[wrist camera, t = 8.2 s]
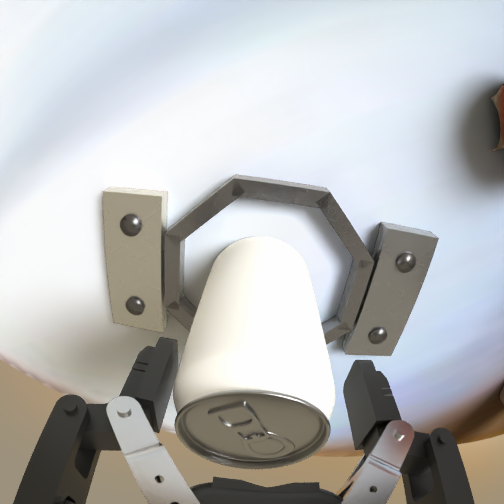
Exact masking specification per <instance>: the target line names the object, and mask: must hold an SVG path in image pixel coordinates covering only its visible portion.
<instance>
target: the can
mask: <svg viewBox="0 0 504 504" xmlns="http://www.w3.org/2000/svg"><path fill="white" fill-rule="evenodd" d="M173 398H174V404H175V408H176V411H177V416H176V419H175V431H176V434H177V436H178V438H179V439H180V441H181V442H182V443H183V444H184V445H185V446H186V447H187V448H188V449H190V450H191V451H192V452H194V453H195V454H197V455H199V456H201V457H203V458H205V459H207V460H210V461H212V462H215V463H218V464H221V465H225V466H230V467H235V468H243V469H271V468H278V467H283V466H288V465H291V464H294V463H297V462H300V461H302V460H305V459H307V458H309V457H311V456H312V455H314V454H315V453H317V452H318V451H319V450H320V449H321V448H322V447H323V446H324V445H325V444H326V442H327V441H328V439H329V436H330V423H329V419H330V416H331V414H332V411H333V408H334V404H335V387H334V381H333V375H332V370H331V365H330V361H329V356H328V351H327V347H326V342H325V338H324V333H323V329H322V325H321V320H320V316H319V312H318V308H317V304H316V300H315V296H314V292H313V288H312V284H311V280H310V276H309V273H308V270H307V267H306V264H305V262H304V260H303V259H302V257H301V256H300V255H299V253H298V252H297V251H296V250H295V249H293V248H292V247H291V246H290V245H288V244H286V243H284V242H282V241H280V240H278V239H274V238H270V237H263V236H256V237H248V238H244V239H241V240H238V241H236V242H234V243H232V244H231V245H229V246H228V247H226V248H225V249H224V250H223V251H222V252H221V253H220V254H219V256H218V257H217V259H216V260H215V262H214V264H213V267H212V269H211V272H210V274H209V277H208V280H207V283H206V286H205V288H204V291H203V294H202V297H201V300H200V303H199V306H198V309H197V312H196V315H195V318H194V321H193V324H192V327H191V330H190V333H189V336H188V339H187V342H186V345H185V348H184V352H183V355H182V358H181V361H180V365H179V368H178V371H177V375H176V379H175V383H174V389H173Z"/></svg>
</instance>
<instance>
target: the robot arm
mask: <svg viewBox="0 0 504 504" xmlns="http://www.w3.org/2000/svg"><path fill="white" fill-rule="evenodd" d="M177 371H178V344H177V340H175V339H169V338H164V337H160V338H159V340H158V343H157V345H156V347H151V346H147V347H146V348H144V349H143V350H142V351H141V352H140V353H139V355H138V357H137V359H136V362H135V363H134V365H133V367H132V370H131V372H130V374H129V376H128V378H127V380H126V383H125V385H124V387H123V389H122V391H121V393H120V395H119V397H116V398H114V399H112V400H111V401H110V402H109V403H107V404H86V402H85V401H84V400H83V399H82V398H81V397H79V396H77V395H65V396H63V397H61V398H60V399H59V400H58V401H57V402H56V404H55V406H54V408H53V411H52V412H51V415H50V417H49V419H48V421H47V423H46V425H45V427H44V429H43V431H42V434H41V436H40V438H39V440H38V443H37V445H36V447H35V449H34V452H33V454H32V456H31V459H30V461H29V463H28V466H27V468H26V471H25V473H24V476H23V478H22V481H21V484H20V486H19V489H18V492H17V495H16V497H15V500H14V503H13V504H85V503H86V499H87V495H88V492H89V488H90V485H91V481H92V478H93V475H94V471H95V468H96V465H97V461H98V458H99V455H100V452H101V450H122V452H123V454H124V456H125V458H126V461H127V463H128V465H129V467H130V469H131V471H132V473H133V475H134V477H135V479H136V481H137V483H138V485H139V487H140V489H141V491H142V493H143V495H144V497H145V498H146V500H147V502H148V504H386V503H387V501H388V499H389V497H390V496H391V494H392V492H393V490H394V488H395V486H396V484H397V482H398V480H399V478H400V476H401V473H402V478H403V483H404V488H405V495H406V500H407V504H474V500H473V496H472V492H471V489H470V485H469V482H468V478H467V475H466V471H465V468H464V465H463V462H462V459H461V456H460V453H459V450H458V446H457V443H456V441H455V438H454V436H453V434H452V433H451V432H450V431H449V430H447V429H445V428H437V429H435V430H433V431H432V432H431V434H426V433H420V432H415V431H414V430H413V428H412V427H411V425H410V424H408V423H407V422H405V421H402V419H401V417H400V414H399V411H398V408H397V405H396V402H395V399H394V397H393V396H392V391H391V389H390V386H389V383H388V380H387V378H386V377H385V376H384V375H383V374H382V373H381V371H376V370H375V367H374V364H373V362H372V361H371V360H355V361H354V363H353V365H352V367H351V370H350V372H349V374H348V376H347V378H346V380H345V383H344V388H343V393H344V398H345V403H346V407H347V412H348V417H349V422H350V426H351V431H352V436H353V441H354V446H355V450H362V449H364V453H365V454H364V455H363V457H362V458H361V460H360V461H359V463H358V464H357V466H356V467H355V469H354V470H353V472H352V474H351V475H350V476H349V478H348V479H347V481H346V482H345V484H344V485H343V486H342V488H341V489H340V490H339V492H338V493H337V494H334V493H332V492H329V491H327V490H324V489H320V488H319V483H317V482H315V483H290V484H285V485H280V486H275V487H268V488H267V487H262V486H259V485H255V484H252V483H249V482H245V481H242V480H236V479H227V478H219V477H213V482H212V483H204V484H199V485H196V486H193V487H190V488H189V486H188V485H187V483H186V482H185V480H184V479H183V477H182V475H181V474H180V472H179V471H178V469H177V467H176V466H175V464H174V462H173V461H172V459H171V457H170V456H169V454H168V452H167V450H166V449H165V447H164V446H163V445H162V444H160V442H159V441H158V439H157V437H156V435H155V433H154V432H157V433H159V432H160V428H161V425H162V422H163V418H164V415H165V412H166V408H167V405H168V402H169V399H170V395H171V392H172V389H173V386H174V382H175V379H176V375H177ZM500 400H501V402H502V403H503V405H504V387H503V389H502V391H501V394H500Z"/></svg>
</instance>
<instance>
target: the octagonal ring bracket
mask: <svg viewBox="0 0 504 504" xmlns="http://www.w3.org/2000/svg"><path fill="white" fill-rule="evenodd" d="M238 197H246V198H254V199H262V200H269V201H276V202H283V203H290V204H296V205H303V206H309V207H316V208H320V209H321V211H322V212H323V214H324V215H325V216H326V218H327V219H328V221H329V222H330V224H331V225H332V227H333V228H334V230H335V231H336V233H337V234H338V235H339V237H340V238H341V240H342V241H343V243H344V245H345V246H346V248H347V249H348V251H349V252H350V254H351V255H352V257H353V258H354V259H353V262H352V266H351V269H350V273H349V276H348V280H347V283H346V286H345V290H344V293H343V296H342V300H341V303H340V306H339V309H338V312H337V315H335V316H334V317H332V318H330V319H329V320H327V321H325V322H324V323H322V324H321V325H322V329H323V333H324V338H325V342H326V345H327V344H328V343H330V342H332V341H334V340H336V339H337V338H339V337H341V336H342V335H344V334H346V335H345V338H344V341H343V343H342V345H343V349H344V352H345V354H348V355H374V356H391V355H392V353H393V351H394V349H395V347H396V344H397V342H398V340H399V338H400V336H401V334H402V332H403V330H404V327H405V325H406V323H407V321H408V318H409V316H410V314H411V312H412V309H413V307H414V304H415V302H416V300H417V297H418V295H419V292H420V290H421V287H422V284H423V282H424V279H425V277H426V274H427V271H428V268H429V266H430V263H431V260H432V257H433V254H434V251H435V248H436V245H437V242H438V239H439V238H438V237H437V236H435V235H434V234H433V233H432V232H430V231H425V230H420V229H415V228H410V227H405V226H400V225H395V224H390V223H384V222H381V225H380V229H379V233H378V236H377V240H376V244H375V247H374V251H373V254H372V257H371V255H370V254H369V252H368V250H367V249H366V247H365V246H364V244H363V242H362V241H361V239H360V237H359V236H358V234H357V233H356V231H355V229H354V228H353V226H352V225H351V223H350V222H349V220H348V219H347V217H346V215H345V214H344V212H343V211H342V209H341V208H340V206H339V205H338V203H337V202H336V200H335V199H334V197H333V196H332V194H331V193H330V192H329V190H328V189H327V188H324V187H318V186H312V185H306V184H300V183H293V182H287V181H280V180H273V179H266V178H259V177H251V176H243V175H235V176H233V177H232V178H231V179H230V180H228V181H227V182H226V183H224V184H223V185H222V186H221V187H219V188H218V189H217V190H215V191H214V192H213V193H212V194H210V195H209V196H208V197H207V198H205V199H204V200H203V201H202V202H200V203H199V204H198V205H197V206H195V207H194V208H193V209H192V210H191V211H189V212H188V213H187V214H186V215H184V216H183V217H182V218H181V219H180V220H178V221H177V222H176V223H175V224H174V225H172V226H171V227H170V228H169V229H168V231H167V204H168V192H166V191H155V190H144V189H133V188H120V187H110V188H108V189H106V190H104V191H103V218H104V238H105V252H106V264H107V274H108V283H109V292H110V300H111V307H112V314H113V321H114V323H118V324H123V325H127V326H132V327H137V328H142V329H147V330H152V331H157V332H162V333H163V331H164V329H165V327H166V324H167V310H168V311H169V312H170V313H171V314H172V315H173V316H174V317H175V318H176V319H177V320H178V321H179V322H180V323H181V324H182V325H183V326H184V327H185V328H186V329H188V330H189V331H190V330H191V327H192V324H193V321H194V318H195V315H196V312H197V309H196V308H195V307H194V306H193V305H192V304H191V303H190V302H189V301H188V300H187V299H186V298H185V297H184V296H183V283H184V250H185V238H186V237H188V236H189V235H190V234H191V233H193V232H194V231H195V230H197V229H198V228H199V227H200V226H202V225H203V224H204V223H205V222H207V221H208V220H209V219H211V218H212V217H213V216H215V215H216V214H217V213H218V212H220V211H221V210H222V209H224V208H225V207H226V206H228V205H229V204H230V203H232V202H233V201H234V200H235V199H237V198H238Z"/></svg>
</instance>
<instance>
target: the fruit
mask: <svg viewBox="0 0 504 504" xmlns="http://www.w3.org/2000/svg"><path fill="white" fill-rule="evenodd" d="M489 99H491V100H492V101H493V103H494V104H495V106H496V108H497V111H498V114H499V119H500V125H501V132H500V139H499V143H498V146H497V147H496V148H495V149H493V150H492V152H493V151H496V150H499V149H504V84H503V85H502V86H501V88H500V89H499V90H498V92H497V94H496V95H495V96H493V97H492V98H489Z"/></svg>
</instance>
